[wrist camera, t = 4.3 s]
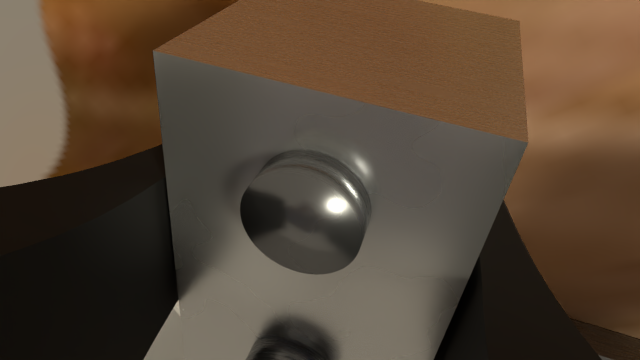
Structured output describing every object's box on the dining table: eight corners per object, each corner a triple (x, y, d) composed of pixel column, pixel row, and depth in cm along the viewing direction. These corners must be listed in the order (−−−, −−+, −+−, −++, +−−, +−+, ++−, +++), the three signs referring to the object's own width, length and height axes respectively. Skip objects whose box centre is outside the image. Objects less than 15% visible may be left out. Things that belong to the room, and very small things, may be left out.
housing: (519, 20, 10) (530, 169, 5) (423, 287, 14) (387, 481, 10) (284, -27, 10) (126, 66, 6) (268, 238, 15) (172, 397, 11)
